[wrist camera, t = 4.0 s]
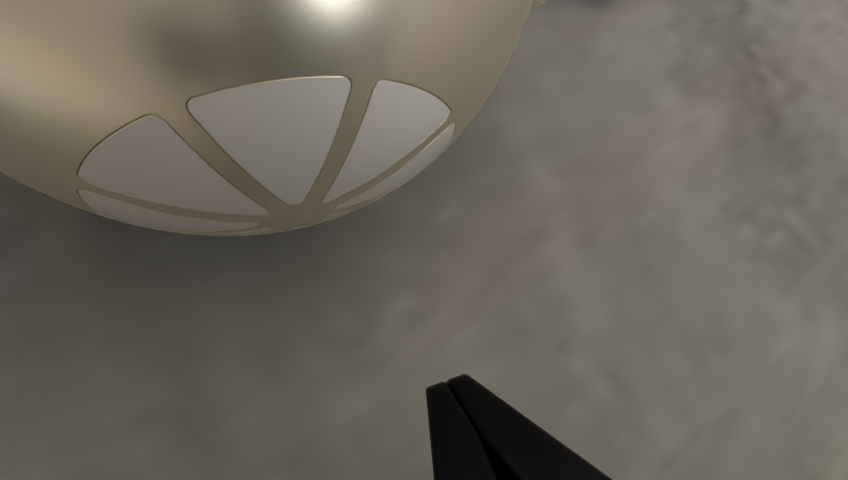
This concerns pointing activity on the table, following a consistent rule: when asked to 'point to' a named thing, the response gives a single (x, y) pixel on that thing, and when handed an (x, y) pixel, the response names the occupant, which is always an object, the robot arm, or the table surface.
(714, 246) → the table surface
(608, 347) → the table surface
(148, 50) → the teapot
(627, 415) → the table surface
